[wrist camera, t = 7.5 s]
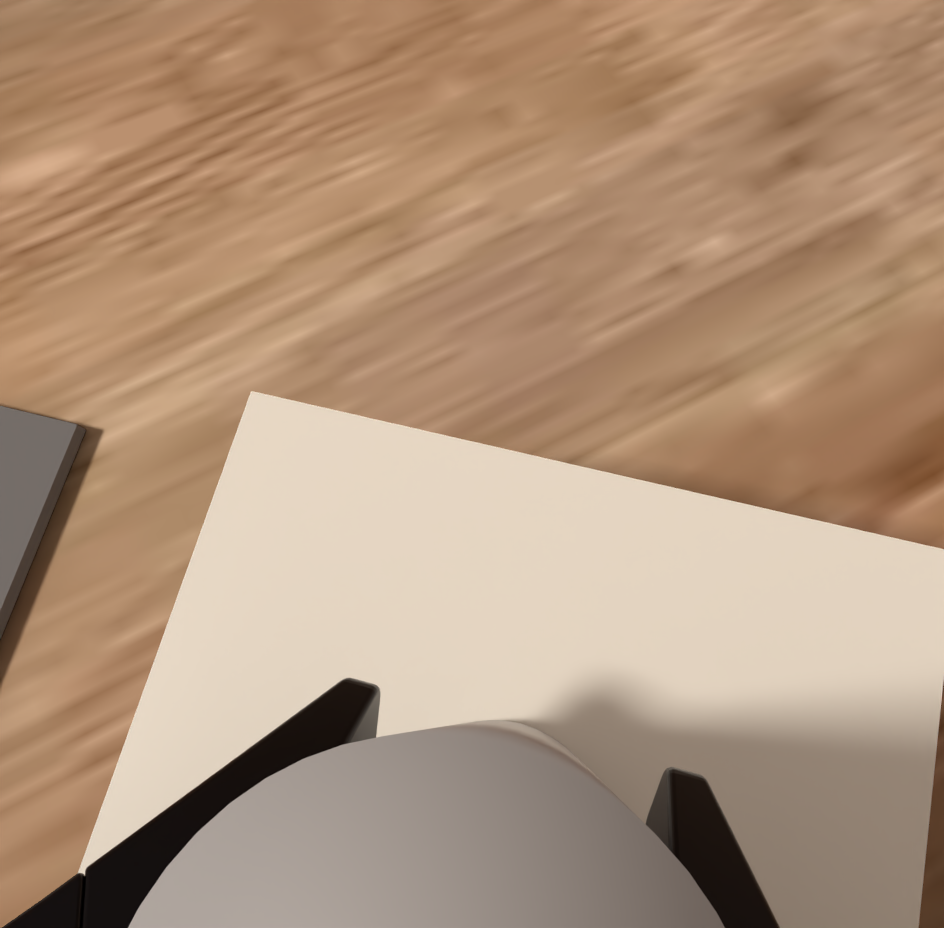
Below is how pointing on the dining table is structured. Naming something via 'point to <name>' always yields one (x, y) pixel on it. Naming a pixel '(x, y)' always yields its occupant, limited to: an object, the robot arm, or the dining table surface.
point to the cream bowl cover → (529, 693)
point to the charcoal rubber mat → (29, 491)
